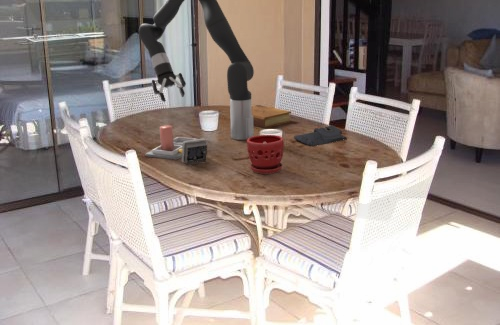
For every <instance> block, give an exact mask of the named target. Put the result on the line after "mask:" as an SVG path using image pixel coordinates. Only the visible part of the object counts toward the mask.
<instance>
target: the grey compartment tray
mask: <svg viewBox="0 0 500 325" xmlns="http://www.w3.org/2000/svg"><path fill="white" fill-rule="evenodd" d="M197 139H198V138H197V137H196V138H193V137H184V136H183V137H182V136H177V137H174V138H173V142H174V151H163V150H161V145H159V146H157V147H155V148H153V149H152V150H150V151H147V152H146V153H145V157H146V158H147V157H149V158H158V159H168V160H178V159H180V158H182V147H183V142H184V141H189V140H197Z"/></svg>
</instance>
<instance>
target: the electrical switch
mask: <svg viewBox="0 0 500 325" xmlns="http://www.w3.org/2000/svg"><path fill="white" fill-rule="evenodd" d="M196 139H197V140H189V141H184V142H183V147H182V157H181V162H182V163H185V164H186V165H187V166H189V165H195V164H203V163H206V162H207V155H208V154H207V153H208V144H207V143H208V139H206V138H199V139H198V138H196Z"/></svg>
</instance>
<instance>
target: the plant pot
mask: <svg viewBox="0 0 500 325" xmlns="http://www.w3.org/2000/svg"><path fill="white" fill-rule="evenodd" d="M284 146H285V144H284V137H282V136H280V135H276V134H261V135H254V136H253V137H250V138H248V139H246V148H247V153H248V158H249V161H250V163H251V164H250V167H249V168H250V170H252V171H253V172H254V173H257V174H265V175H267V174H274V173H275V174H276V173H278V172H279V171H281V170H282V168H283V163H282V159H283V157H284V156H283V155H284Z"/></svg>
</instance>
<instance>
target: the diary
mask: <svg viewBox="0 0 500 325" xmlns="http://www.w3.org/2000/svg"><path fill="white" fill-rule="evenodd" d="M251 109H252V115H253V127H257V128H261V129H267V128H272V127H275V126H279V125H284V124H288V123H291V122H290V121H291V120H290V115H291V114H292V111H291V110H287V109H280V108H275V107H270V106H265V105H262V104H256V105H251ZM287 122H288V123H287ZM283 123H284V124H283Z"/></svg>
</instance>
